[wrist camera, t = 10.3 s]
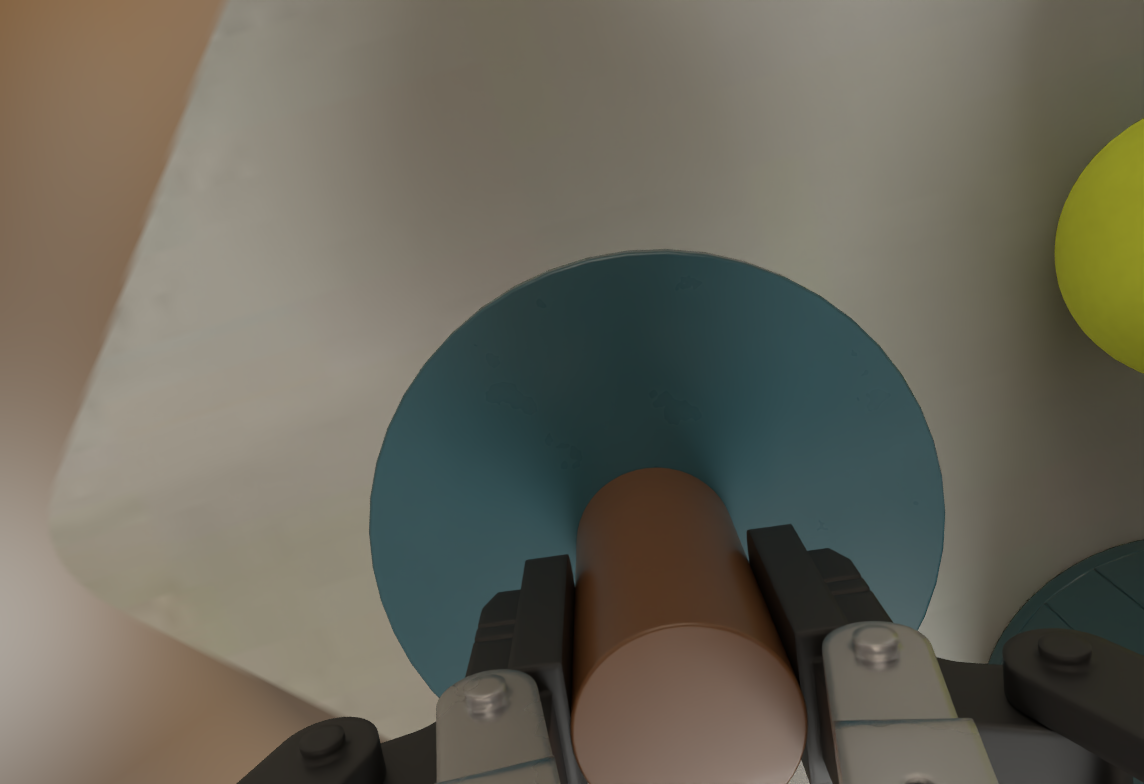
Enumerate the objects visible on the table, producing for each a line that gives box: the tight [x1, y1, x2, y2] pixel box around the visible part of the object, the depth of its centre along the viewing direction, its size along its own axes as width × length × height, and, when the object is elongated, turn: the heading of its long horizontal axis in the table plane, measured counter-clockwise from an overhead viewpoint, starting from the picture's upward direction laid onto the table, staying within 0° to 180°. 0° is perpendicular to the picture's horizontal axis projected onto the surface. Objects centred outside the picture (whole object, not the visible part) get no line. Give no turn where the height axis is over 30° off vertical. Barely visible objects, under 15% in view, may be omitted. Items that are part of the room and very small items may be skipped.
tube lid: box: [369, 249, 945, 784], centre depth 15 cm, size 11×11×7 cm
